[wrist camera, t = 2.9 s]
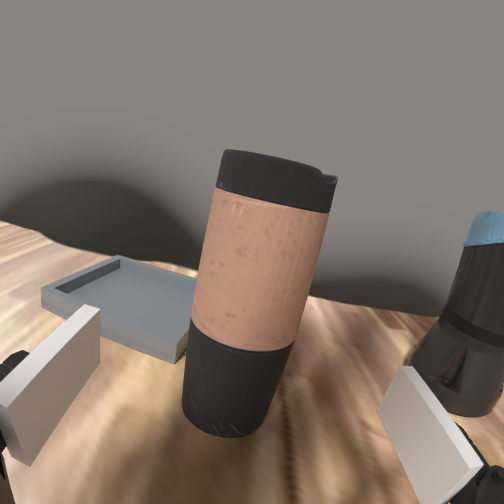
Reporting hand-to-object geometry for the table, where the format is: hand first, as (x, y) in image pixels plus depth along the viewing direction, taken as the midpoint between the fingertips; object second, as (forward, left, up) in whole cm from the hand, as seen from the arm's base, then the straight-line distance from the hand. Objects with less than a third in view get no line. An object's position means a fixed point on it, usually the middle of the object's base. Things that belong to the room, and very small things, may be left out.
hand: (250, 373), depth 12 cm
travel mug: (+2, -10, -11) cm, 15 cm away
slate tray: (+17, -23, -11) cm, 30 cm away
